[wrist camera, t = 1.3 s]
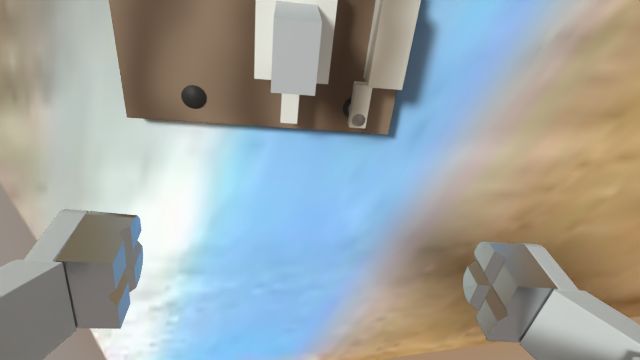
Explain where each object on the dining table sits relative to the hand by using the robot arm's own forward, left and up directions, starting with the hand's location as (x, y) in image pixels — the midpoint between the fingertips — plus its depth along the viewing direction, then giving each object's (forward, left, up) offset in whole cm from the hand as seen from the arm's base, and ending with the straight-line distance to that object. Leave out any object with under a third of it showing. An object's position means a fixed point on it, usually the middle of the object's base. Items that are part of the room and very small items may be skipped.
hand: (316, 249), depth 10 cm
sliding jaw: (0, +1, -22) cm, 22 cm away
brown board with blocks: (+2, +1, -24) cm, 24 cm away
